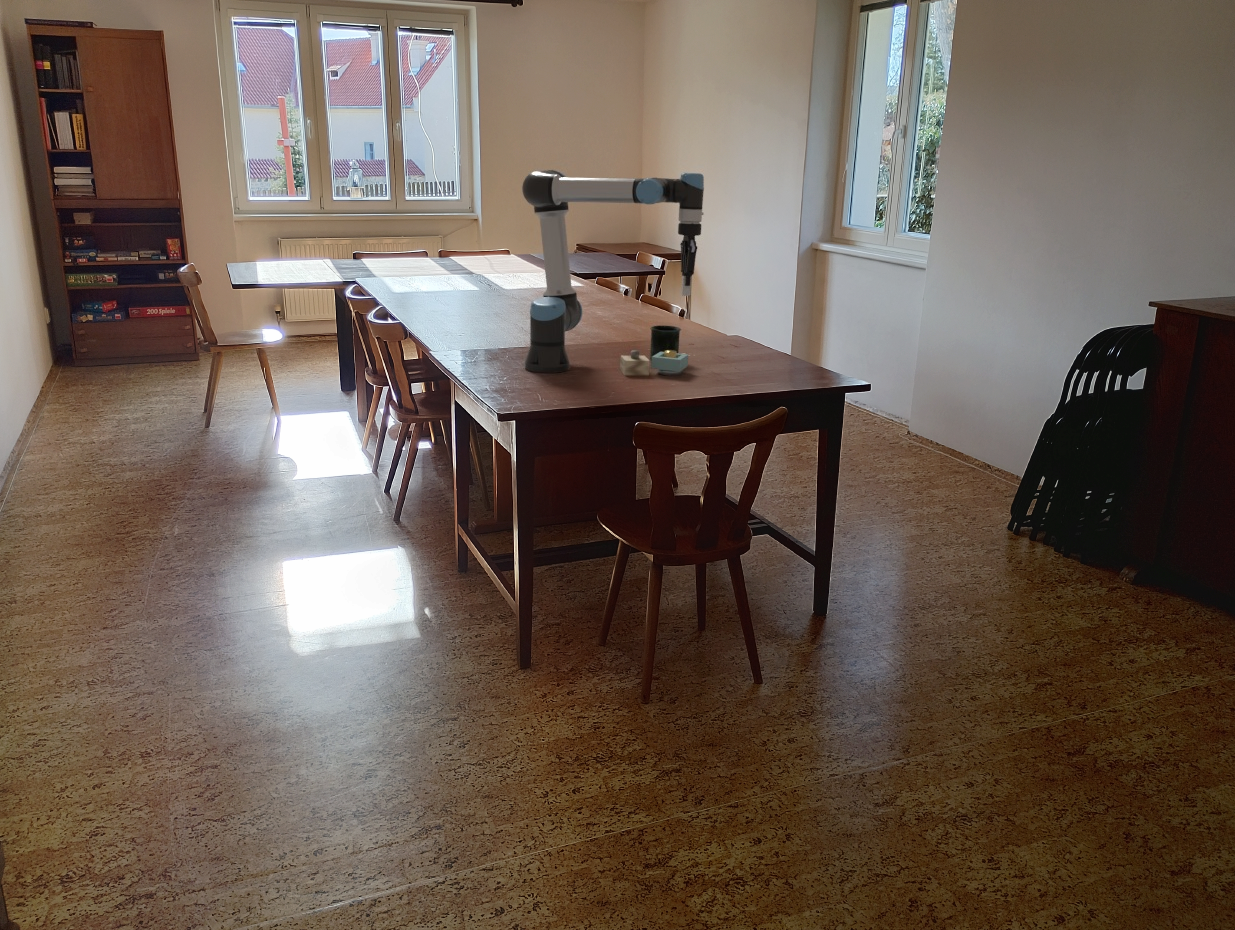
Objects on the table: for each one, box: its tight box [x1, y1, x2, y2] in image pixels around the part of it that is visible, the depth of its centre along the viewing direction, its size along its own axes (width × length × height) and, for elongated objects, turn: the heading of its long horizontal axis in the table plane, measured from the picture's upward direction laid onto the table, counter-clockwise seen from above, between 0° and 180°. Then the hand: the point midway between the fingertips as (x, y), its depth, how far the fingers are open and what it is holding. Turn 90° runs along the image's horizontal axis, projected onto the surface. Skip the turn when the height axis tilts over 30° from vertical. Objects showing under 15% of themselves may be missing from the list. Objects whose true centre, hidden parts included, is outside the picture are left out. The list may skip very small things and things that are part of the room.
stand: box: [619, 349, 651, 376], centre depth 320 cm, size 8×8×7 cm
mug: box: [649, 324, 682, 362], centre depth 340 cm, size 11×15×12 cm
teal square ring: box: [650, 352, 689, 372], centre depth 321 cm, size 10×10×4 cm
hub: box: [657, 350, 682, 377], centre depth 321 cm, size 8×8×8 cm
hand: (686, 295), depth 314 cm, fingers closed
